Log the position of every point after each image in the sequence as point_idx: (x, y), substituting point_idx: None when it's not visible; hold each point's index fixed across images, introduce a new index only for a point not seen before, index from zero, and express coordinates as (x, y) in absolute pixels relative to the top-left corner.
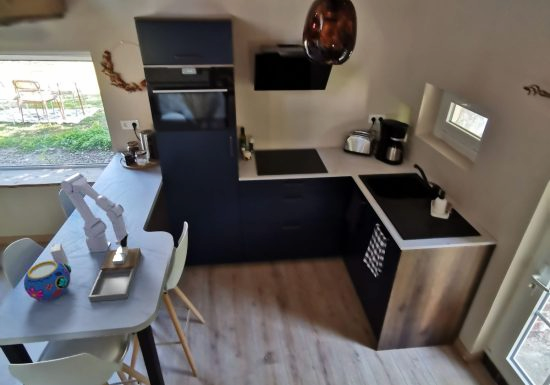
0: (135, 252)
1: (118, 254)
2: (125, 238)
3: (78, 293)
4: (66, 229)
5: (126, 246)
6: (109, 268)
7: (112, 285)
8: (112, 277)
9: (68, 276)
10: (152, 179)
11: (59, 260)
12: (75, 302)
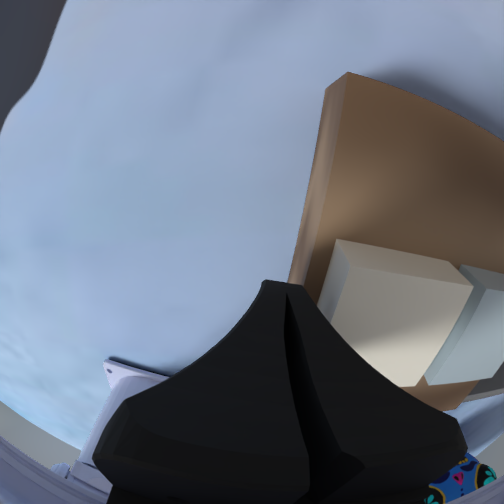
0: (436, 148)
1: (446, 360)
2: (430, 469)
3: (474, 410)
4: (66, 441)
5: (301, 289)
6: None
7: None
8: None
9: (463, 485)
10: None
11: None
12: (501, 400)
